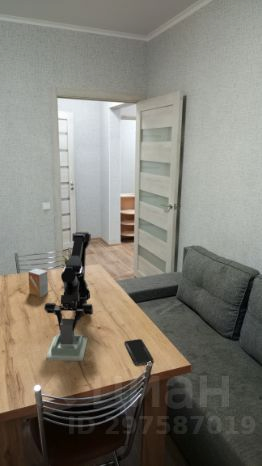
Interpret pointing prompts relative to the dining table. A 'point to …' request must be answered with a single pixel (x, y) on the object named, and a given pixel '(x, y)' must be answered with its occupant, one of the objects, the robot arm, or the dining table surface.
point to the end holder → (67, 349)
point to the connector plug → (67, 333)
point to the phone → (138, 351)
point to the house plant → (66, 260)
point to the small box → (38, 282)
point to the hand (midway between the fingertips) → (66, 330)
